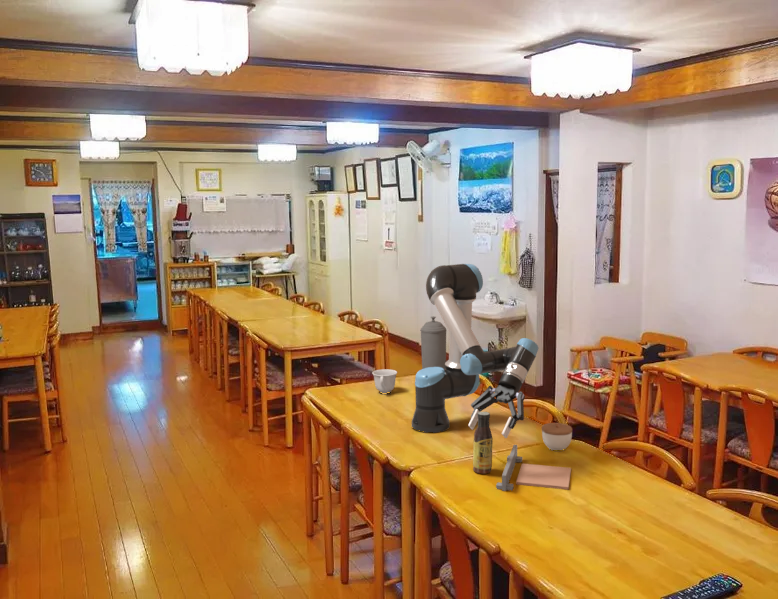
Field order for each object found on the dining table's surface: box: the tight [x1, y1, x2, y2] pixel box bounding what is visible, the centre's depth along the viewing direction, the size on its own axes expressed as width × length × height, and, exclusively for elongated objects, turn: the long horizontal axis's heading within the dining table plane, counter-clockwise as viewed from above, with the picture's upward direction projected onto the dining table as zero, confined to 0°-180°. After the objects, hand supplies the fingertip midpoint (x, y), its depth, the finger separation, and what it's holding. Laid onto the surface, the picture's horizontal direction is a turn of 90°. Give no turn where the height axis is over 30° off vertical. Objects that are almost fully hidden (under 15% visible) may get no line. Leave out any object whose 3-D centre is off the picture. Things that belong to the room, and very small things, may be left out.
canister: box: [420, 316, 448, 370], centre depth 329 cm, size 13×13×35 cm
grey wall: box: [495, 444, 523, 492], centre depth 223 cm, size 5×28×5 cm, turn 162°
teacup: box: [371, 368, 398, 393], centre depth 322 cm, size 12×15×10 cm
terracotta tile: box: [515, 462, 572, 490], centre depth 220 cm, size 16×16×1 cm
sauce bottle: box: [472, 411, 494, 475], centre depth 225 cm, size 7×6×20 cm
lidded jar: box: [541, 422, 573, 451], centre depth 246 cm, size 11×11×9 cm
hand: (486, 431), depth 226 cm, fingers open, 13 cm apart
